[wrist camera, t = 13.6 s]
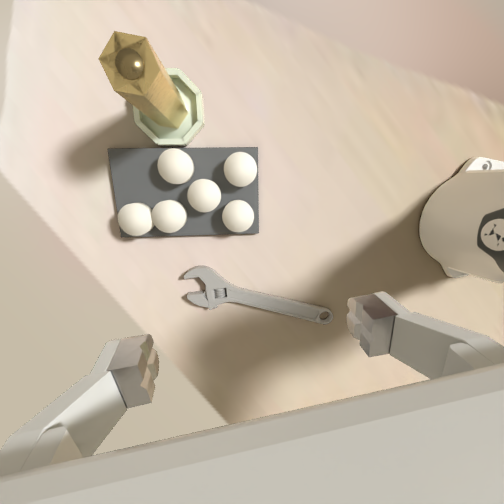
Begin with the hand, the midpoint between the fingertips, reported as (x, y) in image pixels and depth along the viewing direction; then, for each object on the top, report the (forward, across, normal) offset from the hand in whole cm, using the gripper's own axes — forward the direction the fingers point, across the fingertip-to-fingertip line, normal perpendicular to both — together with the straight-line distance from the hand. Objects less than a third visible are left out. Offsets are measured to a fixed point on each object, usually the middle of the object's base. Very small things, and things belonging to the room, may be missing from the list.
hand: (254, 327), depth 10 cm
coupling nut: (+31, -5, +12) cm, 33 cm away
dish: (+31, -5, +12) cm, 34 cm away
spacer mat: (+30, -5, +1) cm, 30 cm away
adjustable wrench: (+27, +3, -17) cm, 32 cm away
